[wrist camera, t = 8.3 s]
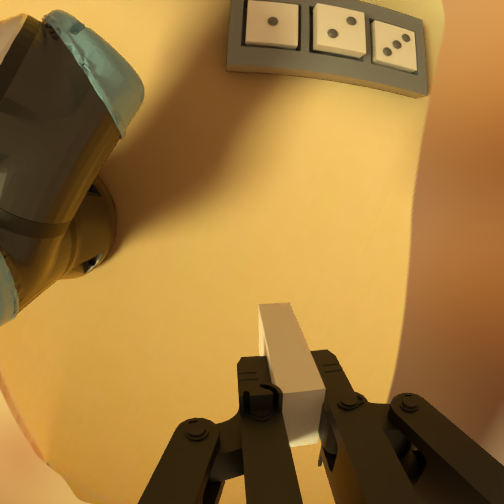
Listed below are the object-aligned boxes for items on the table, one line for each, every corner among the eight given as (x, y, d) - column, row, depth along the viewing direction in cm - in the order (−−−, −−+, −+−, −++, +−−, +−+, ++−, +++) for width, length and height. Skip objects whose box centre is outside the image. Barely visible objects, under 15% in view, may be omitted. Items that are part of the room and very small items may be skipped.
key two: (313, 49, 32) (317, 43, 30) (313, 9, 31) (317, 2, 29) (359, 57, 33) (366, 52, 31) (358, 18, 31) (364, 12, 29)
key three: (370, 63, 34) (377, 59, 32) (368, 25, 33) (375, 19, 31) (409, 73, 35) (417, 70, 33) (407, 36, 33) (415, 31, 31)
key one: (244, 46, 33) (245, 40, 31) (247, 7, 32) (248, -1, 29) (294, 50, 34) (298, 44, 31) (295, 11, 32) (298, 4, 30)
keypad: (226, 71, 35) (226, 64, 32) (232, -6, 32) (232, -17, 29) (416, 98, 37) (427, 95, 34) (412, 26, 34) (422, 20, 31)
